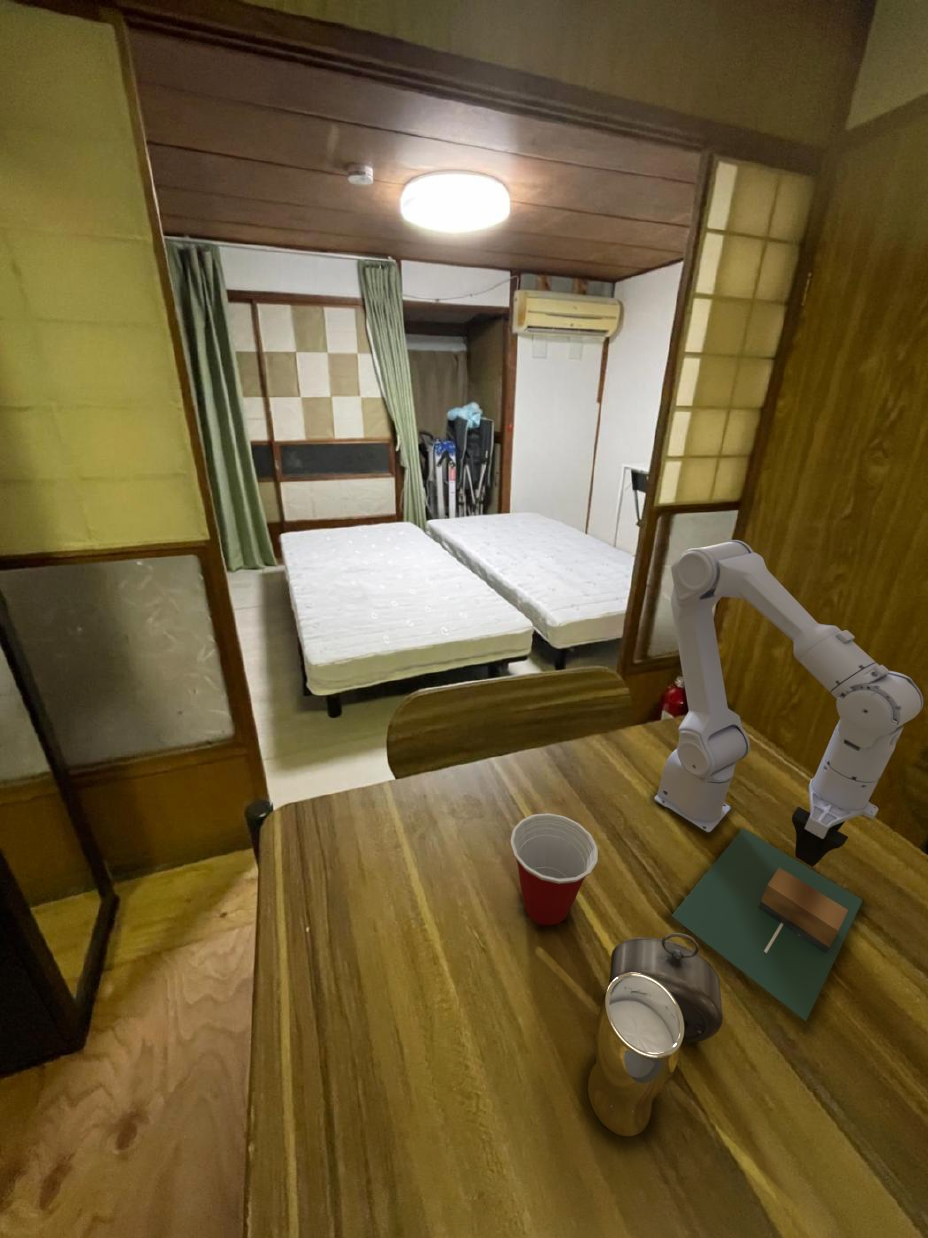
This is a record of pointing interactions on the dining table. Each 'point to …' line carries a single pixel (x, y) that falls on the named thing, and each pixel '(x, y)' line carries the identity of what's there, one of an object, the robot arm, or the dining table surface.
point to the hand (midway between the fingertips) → (815, 844)
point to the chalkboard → (763, 921)
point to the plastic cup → (551, 864)
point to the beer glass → (633, 1051)
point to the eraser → (803, 909)
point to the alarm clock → (676, 979)
